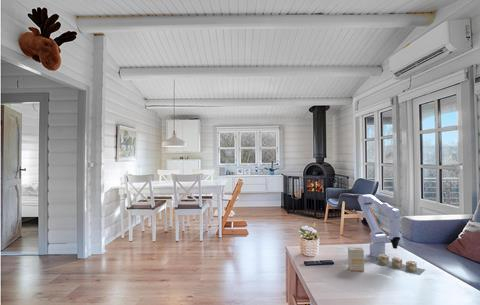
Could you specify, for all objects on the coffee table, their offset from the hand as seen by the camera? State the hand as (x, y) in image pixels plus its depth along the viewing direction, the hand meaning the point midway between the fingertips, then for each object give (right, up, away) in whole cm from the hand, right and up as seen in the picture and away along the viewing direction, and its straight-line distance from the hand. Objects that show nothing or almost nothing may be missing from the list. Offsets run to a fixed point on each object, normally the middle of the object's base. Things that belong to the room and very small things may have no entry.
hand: (395, 248), depth 187 cm
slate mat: (-3, -9, -8) cm, 12 cm away
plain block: (-3, -9, -8) cm, 12 cm away
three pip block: (+3, -8, -13) cm, 16 cm away
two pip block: (-8, -9, -2) cm, 12 cm away
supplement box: (-30, -10, -12) cm, 34 cm away
